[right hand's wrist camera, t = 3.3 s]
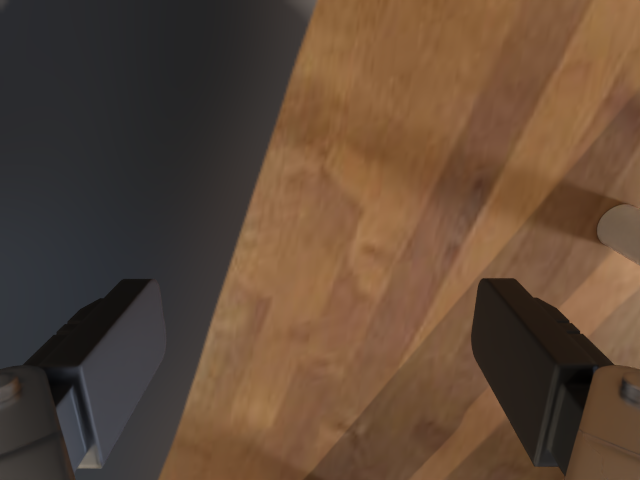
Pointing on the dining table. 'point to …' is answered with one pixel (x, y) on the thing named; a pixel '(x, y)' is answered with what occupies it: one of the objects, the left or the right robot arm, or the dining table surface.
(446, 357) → the dining table surface
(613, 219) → the jar
